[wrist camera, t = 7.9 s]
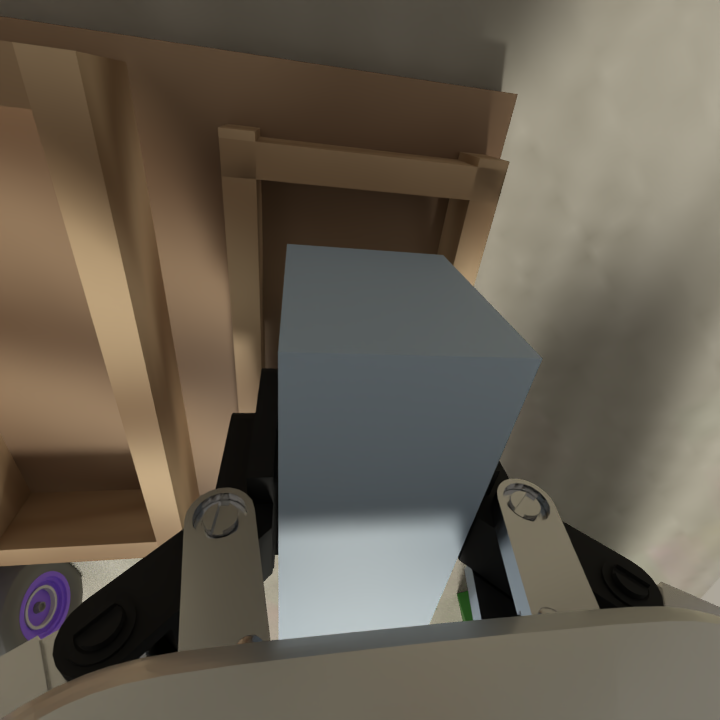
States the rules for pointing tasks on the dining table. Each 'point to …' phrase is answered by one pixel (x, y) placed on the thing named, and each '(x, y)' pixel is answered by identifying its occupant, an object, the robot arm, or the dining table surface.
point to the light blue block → (384, 432)
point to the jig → (188, 254)
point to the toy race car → (36, 601)
